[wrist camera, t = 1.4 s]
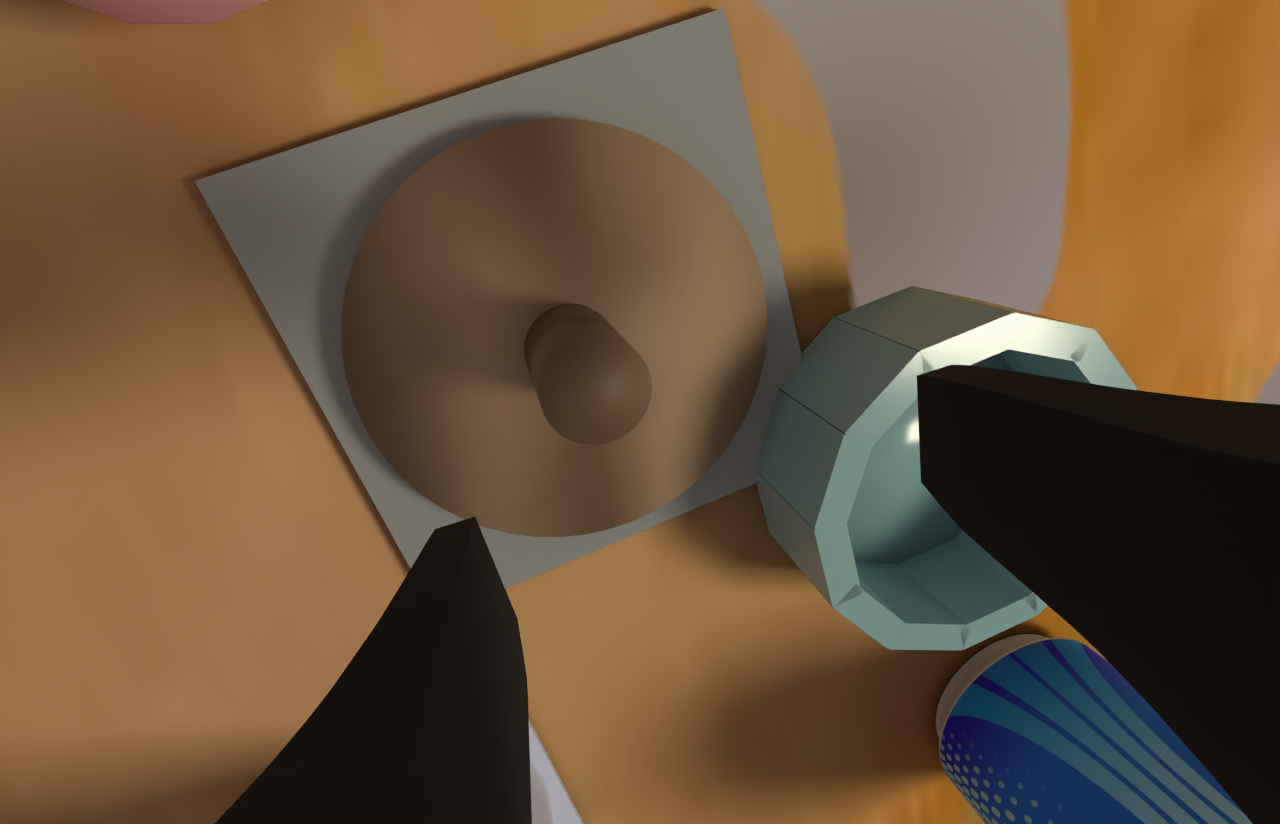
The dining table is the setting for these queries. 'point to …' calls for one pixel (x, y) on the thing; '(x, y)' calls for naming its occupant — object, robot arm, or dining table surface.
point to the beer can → (1067, 743)
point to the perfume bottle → (167, 10)
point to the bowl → (901, 464)
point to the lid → (554, 327)
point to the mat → (399, 145)
